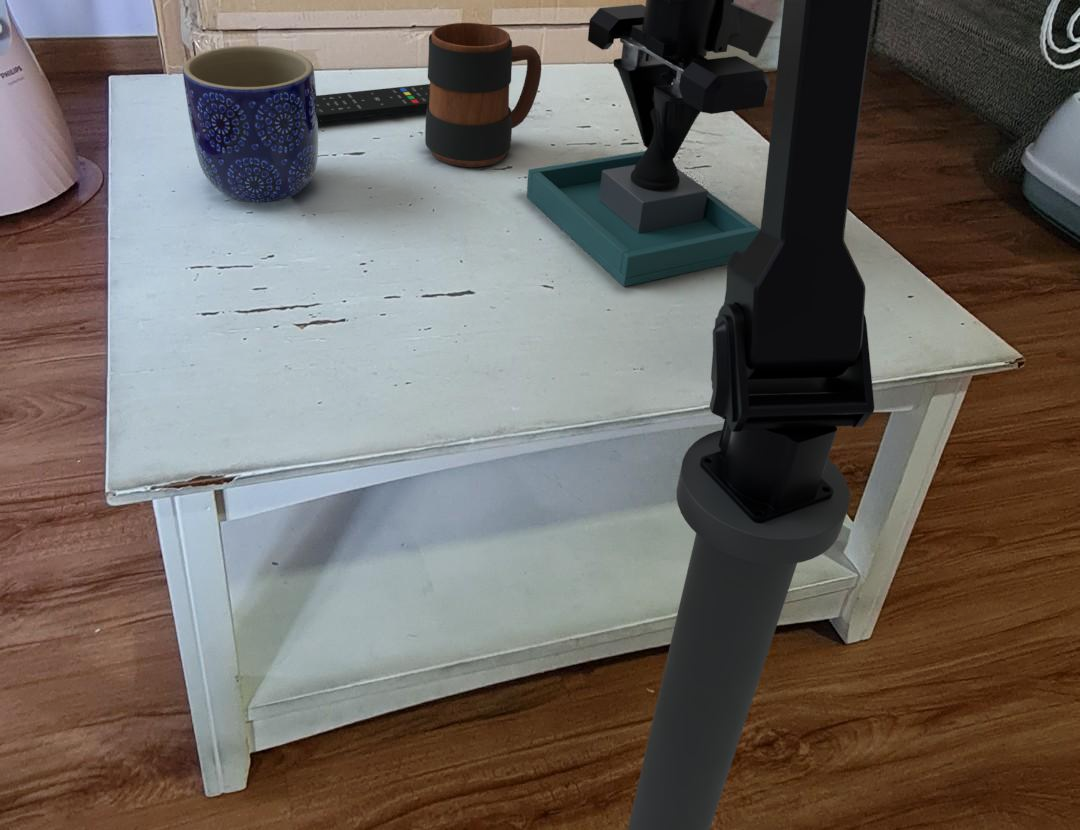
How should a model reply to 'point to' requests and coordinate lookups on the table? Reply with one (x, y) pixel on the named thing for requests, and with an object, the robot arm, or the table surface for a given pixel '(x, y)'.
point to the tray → (616, 244)
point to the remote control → (372, 102)
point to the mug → (475, 93)
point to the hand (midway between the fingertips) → (658, 152)
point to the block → (652, 201)
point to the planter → (253, 120)
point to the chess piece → (656, 158)
